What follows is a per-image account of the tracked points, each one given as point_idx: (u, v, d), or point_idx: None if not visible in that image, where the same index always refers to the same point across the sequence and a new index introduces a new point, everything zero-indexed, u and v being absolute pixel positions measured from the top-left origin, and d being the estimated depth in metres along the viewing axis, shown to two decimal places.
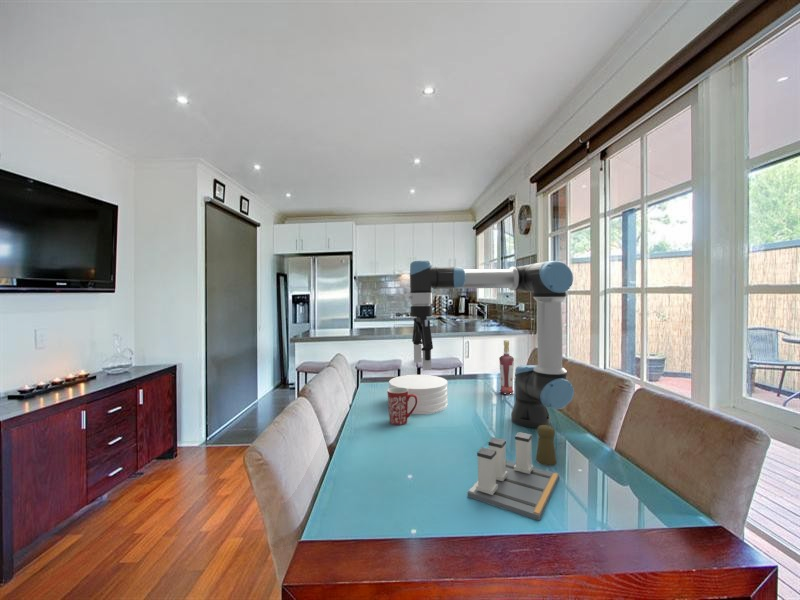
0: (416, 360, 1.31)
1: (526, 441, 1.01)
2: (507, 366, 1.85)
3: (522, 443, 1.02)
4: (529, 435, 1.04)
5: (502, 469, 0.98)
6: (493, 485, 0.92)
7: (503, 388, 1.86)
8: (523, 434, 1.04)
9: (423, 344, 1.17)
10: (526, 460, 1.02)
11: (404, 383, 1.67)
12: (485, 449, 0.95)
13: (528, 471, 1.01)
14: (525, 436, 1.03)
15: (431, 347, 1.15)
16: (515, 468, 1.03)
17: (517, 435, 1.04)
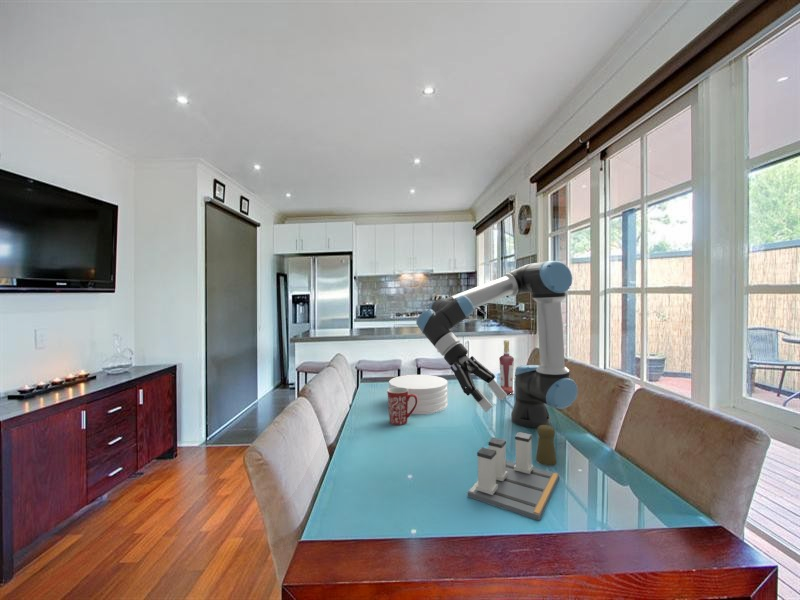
0: (501, 397, 1.14)
1: (526, 441, 1.01)
2: (507, 366, 1.85)
3: (522, 443, 1.02)
4: (529, 435, 1.04)
5: (502, 469, 0.98)
6: (493, 485, 0.92)
7: (503, 388, 1.86)
8: (523, 434, 1.04)
9: (466, 388, 1.06)
10: (526, 460, 1.02)
11: (404, 383, 1.67)
12: (485, 449, 0.95)
13: (528, 471, 1.01)
14: (525, 436, 1.03)
15: (468, 388, 1.03)
16: (515, 468, 1.03)
17: (517, 435, 1.04)
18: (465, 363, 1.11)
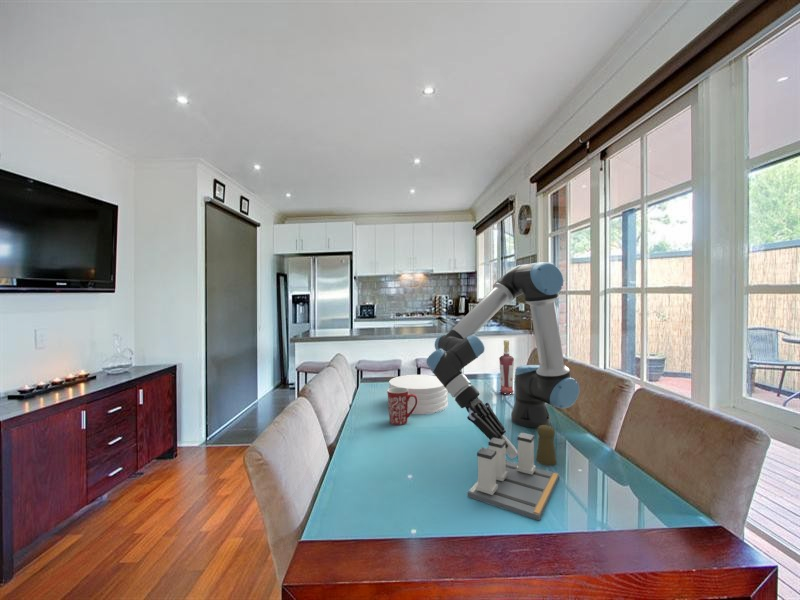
0: None
1: (529, 442, 1.01)
2: (507, 366, 1.85)
3: (525, 444, 1.02)
4: (532, 436, 1.03)
5: (502, 469, 0.98)
6: (493, 485, 0.92)
7: (503, 388, 1.86)
8: (525, 435, 1.04)
9: None
10: (529, 461, 1.01)
11: (404, 383, 1.67)
12: (485, 449, 0.95)
13: (531, 472, 1.01)
14: (528, 437, 1.03)
15: (495, 437, 1.05)
16: (518, 469, 1.03)
17: (520, 436, 1.03)
18: (478, 408, 1.09)
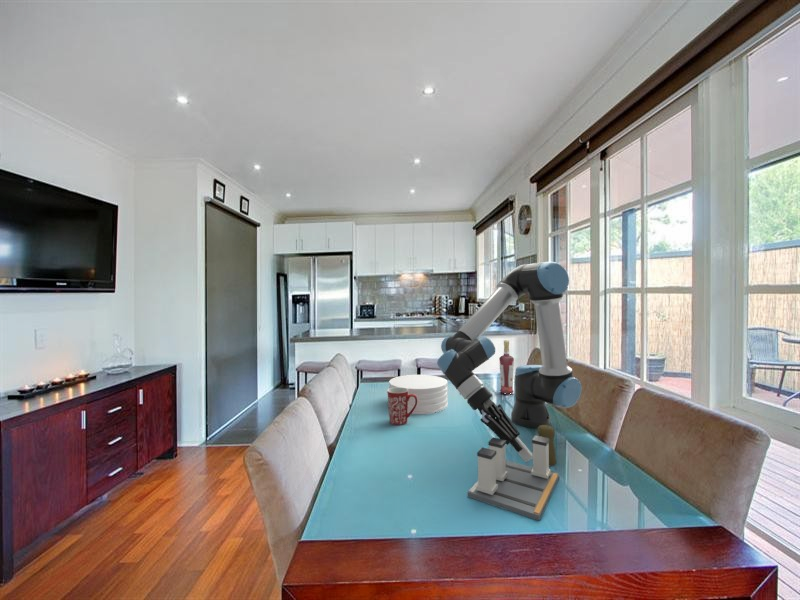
0: None
1: (544, 445, 0.99)
2: (507, 366, 1.85)
3: (540, 447, 0.99)
4: (547, 439, 1.01)
5: (502, 469, 0.98)
6: (493, 485, 0.92)
7: (503, 388, 1.86)
8: (540, 438, 1.01)
9: None
10: (544, 464, 0.99)
11: (404, 383, 1.67)
12: (485, 449, 0.95)
13: (546, 476, 0.98)
14: (543, 440, 1.00)
15: (509, 439, 1.02)
16: (532, 473, 1.00)
17: (534, 439, 1.01)
18: (491, 410, 1.07)
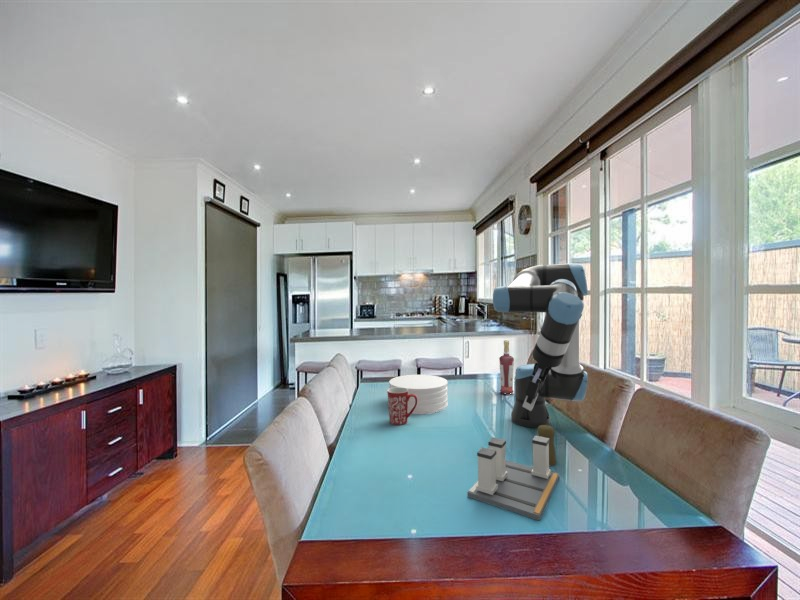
0: None
1: (544, 445, 0.99)
2: (507, 366, 1.85)
3: (540, 447, 0.99)
4: (547, 439, 1.01)
5: (502, 469, 0.98)
6: (493, 485, 0.92)
7: (503, 388, 1.86)
8: (540, 438, 1.01)
9: None
10: (544, 464, 0.99)
11: (404, 383, 1.67)
12: (485, 449, 0.95)
13: (546, 476, 0.98)
14: (543, 440, 1.00)
15: (532, 398, 1.01)
16: (532, 473, 1.00)
17: (534, 439, 1.01)
18: (546, 373, 0.96)
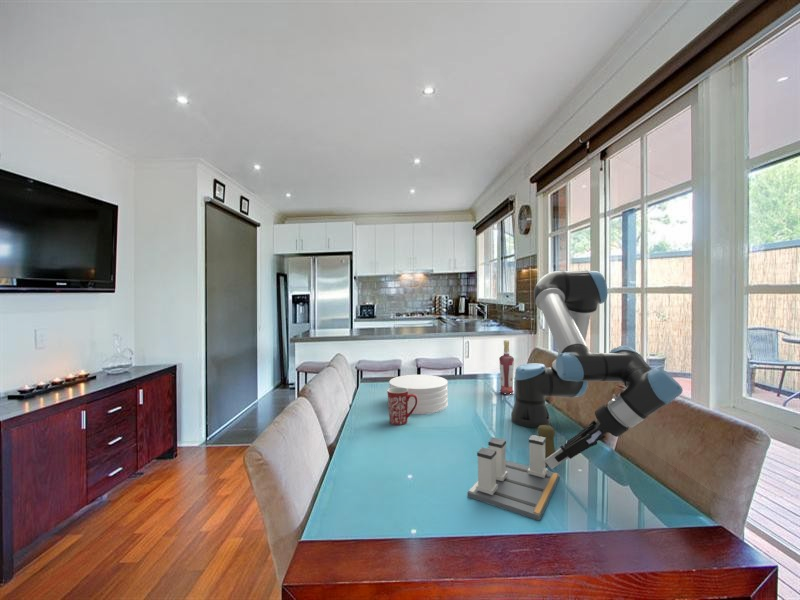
0: None
1: (540, 444, 0.99)
2: (507, 366, 1.85)
3: (536, 446, 1.00)
4: (543, 438, 1.01)
5: (502, 469, 0.98)
6: (493, 485, 0.92)
7: (503, 388, 1.86)
8: (536, 437, 1.02)
9: (567, 446, 0.95)
10: (541, 463, 0.99)
11: (404, 383, 1.67)
12: (485, 449, 0.95)
13: (542, 475, 0.99)
14: (539, 439, 1.01)
15: (569, 457, 0.94)
16: (529, 472, 1.01)
17: (531, 438, 1.02)
18: (599, 438, 0.91)
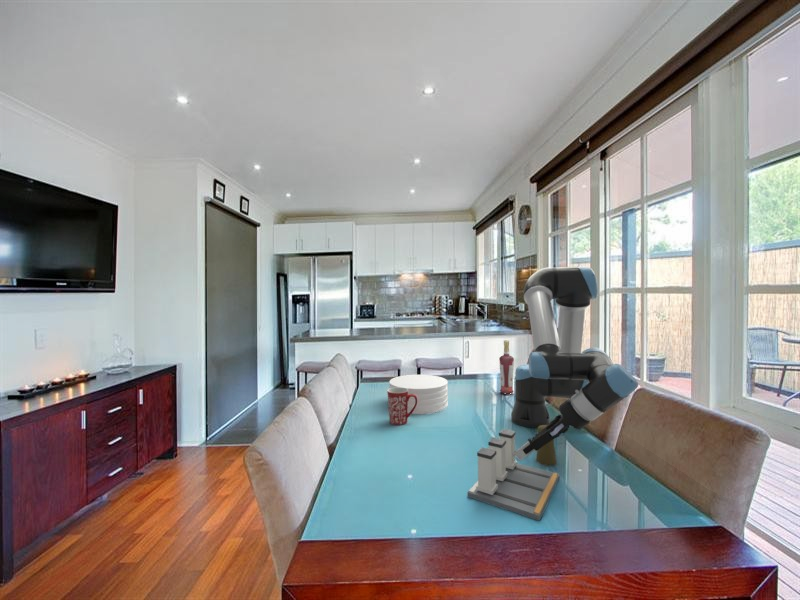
0: None
1: (509, 437, 1.04)
2: (507, 366, 1.85)
3: (506, 439, 1.05)
4: (513, 432, 1.06)
5: (502, 469, 0.98)
6: (493, 485, 0.92)
7: (503, 388, 1.86)
8: (507, 431, 1.07)
9: (533, 439, 1.00)
10: (510, 456, 1.04)
11: (404, 383, 1.67)
12: (485, 449, 0.95)
13: (511, 467, 1.04)
14: (509, 433, 1.06)
15: (535, 449, 0.99)
16: None
17: (501, 432, 1.06)
18: (563, 431, 0.96)
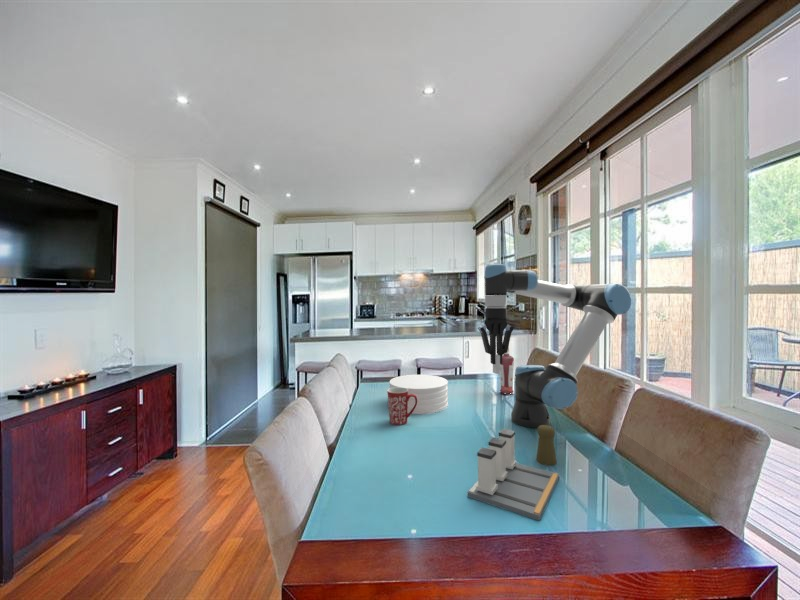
0: None
1: (509, 437, 1.04)
2: (507, 366, 1.85)
3: (505, 439, 1.05)
4: (512, 432, 1.06)
5: (502, 469, 0.98)
6: (493, 485, 0.92)
7: (503, 388, 1.86)
8: (506, 431, 1.07)
9: (489, 349, 1.29)
10: (509, 456, 1.04)
11: (405, 383, 1.67)
12: (485, 449, 0.95)
13: (511, 466, 1.04)
14: (508, 432, 1.06)
15: (488, 353, 1.27)
16: None
17: (501, 432, 1.06)
18: (493, 327, 1.26)
